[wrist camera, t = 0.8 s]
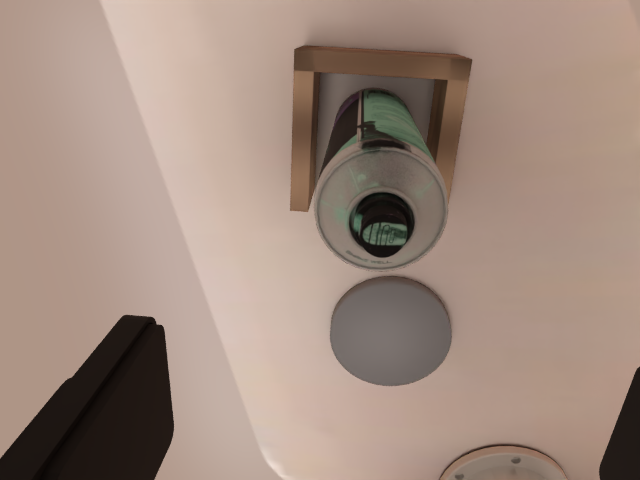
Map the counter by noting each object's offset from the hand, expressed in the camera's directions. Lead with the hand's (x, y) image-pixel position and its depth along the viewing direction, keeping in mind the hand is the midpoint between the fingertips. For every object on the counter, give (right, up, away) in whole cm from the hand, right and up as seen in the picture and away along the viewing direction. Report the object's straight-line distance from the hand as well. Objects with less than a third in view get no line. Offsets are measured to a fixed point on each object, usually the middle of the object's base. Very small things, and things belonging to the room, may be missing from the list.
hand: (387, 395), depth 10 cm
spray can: (+2, +11, +26) cm, 28 cm away
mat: (+5, -4, +32) cm, 33 cm away
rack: (+2, +11, +26) cm, 28 cm away
